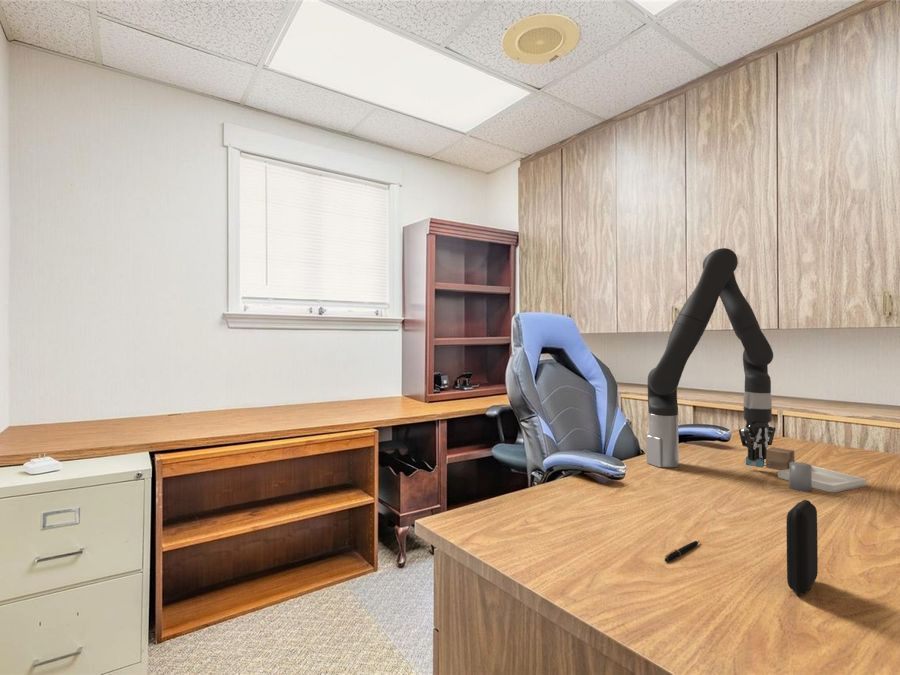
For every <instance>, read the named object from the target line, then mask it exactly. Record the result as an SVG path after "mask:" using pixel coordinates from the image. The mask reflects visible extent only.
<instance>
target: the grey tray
mask: <svg viewBox="0 0 900 675" xmlns="http://www.w3.org/2000/svg"><path fill="white" fill-rule="evenodd" d="M811 467H812V488H814V489H818V490H821V491H824V492H828V493H832V494H834V493H838V492H843V491H849V490H854V489H859V488H860V489H861V488H864V487H867V486H868V484H867V483H868V478H863V477H860V476H855V475H852V474H847V473H844V472H839V471H835V470H831V469H827V468H822V467H819V466H814V465H811ZM777 478H779V479H782V480H785V481H789V482H790V470H789V469H786V470H777Z"/></svg>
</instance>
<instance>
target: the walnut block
mask: <svg viewBox="0 0 900 675" xmlns="http://www.w3.org/2000/svg"><path fill="white" fill-rule="evenodd" d="M765 462H766V463H765V465H767V466H765V468H767V469H771V470H775V471H780V470H786V469H789V463H790V462H796V460H795V450H794V449H788V448H781V447H778V446H777V447H776V446H772V447H769V448H767V454H766V459H765ZM767 463H770V464H767ZM768 466H770V467H768Z"/></svg>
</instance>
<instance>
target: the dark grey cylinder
mask: <svg viewBox="0 0 900 675" xmlns="http://www.w3.org/2000/svg"><path fill="white" fill-rule="evenodd" d="M811 466H812V465H811V464H809V463H806V462H802V461H801V462H800V461H795V462H790V463H789V470H790V481H789V489H791V490H793V491H797V492H800V493H801V492H803V493H809V492H812V491H813V489H812V488H813V487H812V467H811Z"/></svg>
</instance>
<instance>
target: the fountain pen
mask: <svg viewBox="0 0 900 675" xmlns="http://www.w3.org/2000/svg"><path fill="white" fill-rule="evenodd" d="M699 543H700V539H699V540H693V541H692V542H689V543H687V544H686V545H683V546H682V547H680V548H678V549H676V548H674V549H672V550H671V551H669V552H668V553H666V554H665V555H664V557H665V558H664V561H665V562H667V563H668V562H671V561H674V560H676V559H677V558H679V557H681V556H682V555H683V554H685V553H687V552H688V551H690V550H692V549H693V548H694V547H696V546H697V545H699Z"/></svg>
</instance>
